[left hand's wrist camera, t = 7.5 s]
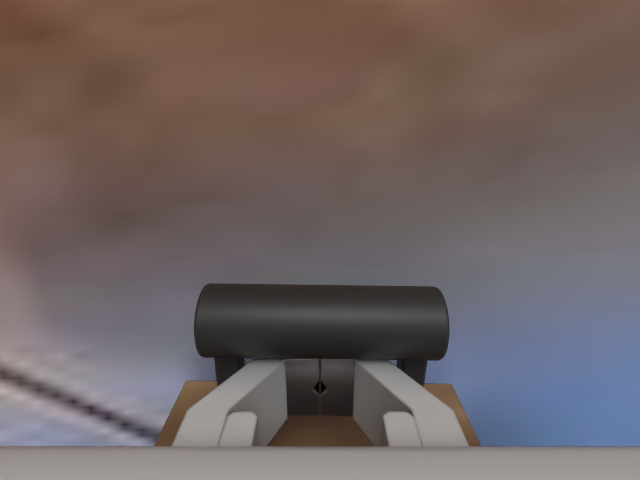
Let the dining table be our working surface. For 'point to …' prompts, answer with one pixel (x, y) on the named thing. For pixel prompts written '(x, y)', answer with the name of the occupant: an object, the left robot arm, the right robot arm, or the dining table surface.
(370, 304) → the drawer
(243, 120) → the dining table surface
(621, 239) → the dining table surface
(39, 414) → the dining table surface
